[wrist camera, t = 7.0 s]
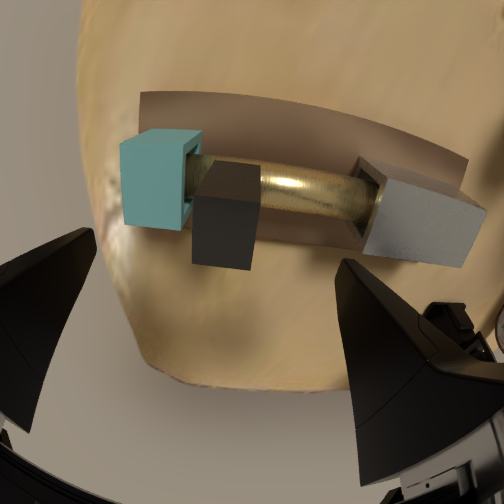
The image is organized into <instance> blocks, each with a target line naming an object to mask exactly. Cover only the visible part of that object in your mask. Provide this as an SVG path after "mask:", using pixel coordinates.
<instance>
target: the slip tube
mask: <svg viewBox="0 0 504 504" xmlns="http://www.w3.org/2000/svg"><path fill="white" fill-rule="evenodd" d="M379 187H380V184H379V183H376V182H372V181H368V180H364V179H359V178H355V177H350V176H346V175H341V174H336V173H331V172H326V171H321V170H316V169H310V168H305V167H299V166H293V165H287V164H281V163H274V162H267V161H260V160H252V159H244V158H235V157H226V156H216V155H205V154H193V153H187V154H186V163H185V189H184V198H189V199H193V223H192V264H200V265H208V266H216V267H224V268H232V269H240V270H248V271H250V269H251V263H252V256H253V250H254V244H255V237H256V231H257V225H258V218H259V212H260V207H266V208H274V209H281V210H288V211H295V212H301V213H308V214H314V215H321V216H327V217H333V218H339V219H345V220H351V221H356V222H362V223H367V224H368V222H369V219H370V216H371V213H372V210H373V207H374V203H375V200H376V197H377V194H378V191H379Z"/></svg>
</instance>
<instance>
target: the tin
mask: <svg viewBox="0 0 504 504" xmlns="http://www.w3.org/2000/svg"><path fill="white" fill-rule="evenodd" d="M495 337H496V341H497V344H498V346H499V348H500V350H501V351H502V353H503V354H504V305H503V307H502V309H501V311H500V312H499V314H498V317H497V320H496V324H495Z"/></svg>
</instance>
